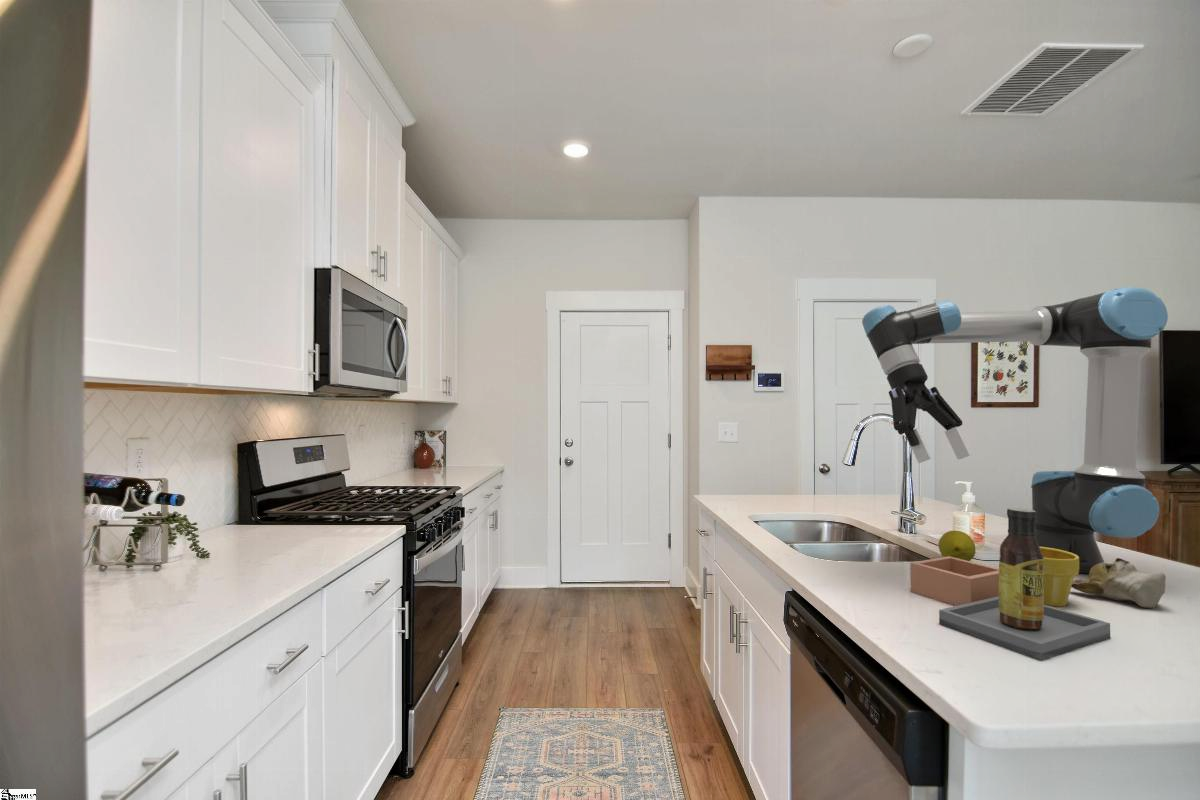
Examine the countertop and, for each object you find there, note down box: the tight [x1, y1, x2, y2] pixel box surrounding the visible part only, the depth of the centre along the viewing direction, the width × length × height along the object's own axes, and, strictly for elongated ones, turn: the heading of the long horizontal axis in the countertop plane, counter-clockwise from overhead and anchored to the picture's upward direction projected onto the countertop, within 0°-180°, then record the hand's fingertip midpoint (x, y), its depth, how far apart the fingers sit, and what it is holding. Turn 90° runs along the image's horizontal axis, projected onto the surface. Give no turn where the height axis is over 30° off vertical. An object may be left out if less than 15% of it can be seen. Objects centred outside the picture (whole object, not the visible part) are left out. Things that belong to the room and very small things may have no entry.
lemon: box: [937, 530, 976, 562], centre depth 139 cm, size 11×8×8 cm
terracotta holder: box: [910, 556, 999, 606], centre depth 115 cm, size 12×12×6 cm
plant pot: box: [1040, 547, 1080, 607], centre depth 112 cm, size 10×10×10 cm
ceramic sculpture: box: [1071, 557, 1167, 609], centre depth 113 cm, size 11×9×15 cm
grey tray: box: [938, 596, 1111, 661], centre depth 97 cm, size 20×16×2 cm
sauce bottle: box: [998, 507, 1044, 630], centre depth 97 cm, size 7×6×20 cm
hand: (945, 458), depth 117 cm, fingers open, 13 cm apart
